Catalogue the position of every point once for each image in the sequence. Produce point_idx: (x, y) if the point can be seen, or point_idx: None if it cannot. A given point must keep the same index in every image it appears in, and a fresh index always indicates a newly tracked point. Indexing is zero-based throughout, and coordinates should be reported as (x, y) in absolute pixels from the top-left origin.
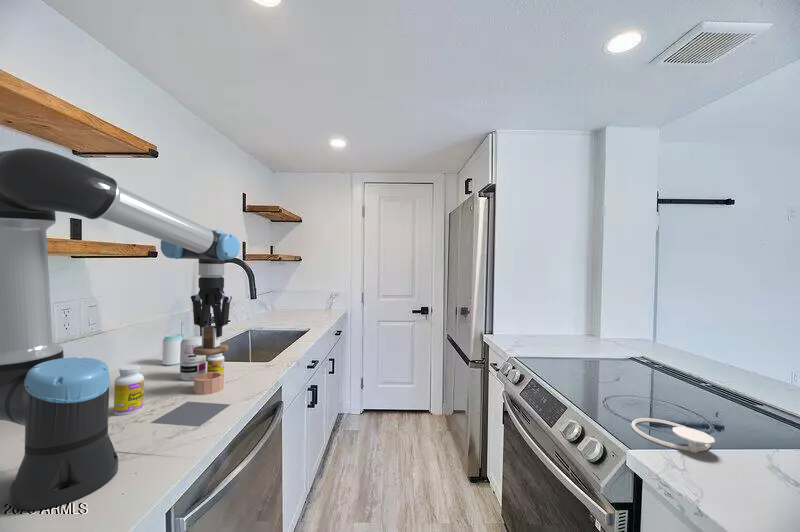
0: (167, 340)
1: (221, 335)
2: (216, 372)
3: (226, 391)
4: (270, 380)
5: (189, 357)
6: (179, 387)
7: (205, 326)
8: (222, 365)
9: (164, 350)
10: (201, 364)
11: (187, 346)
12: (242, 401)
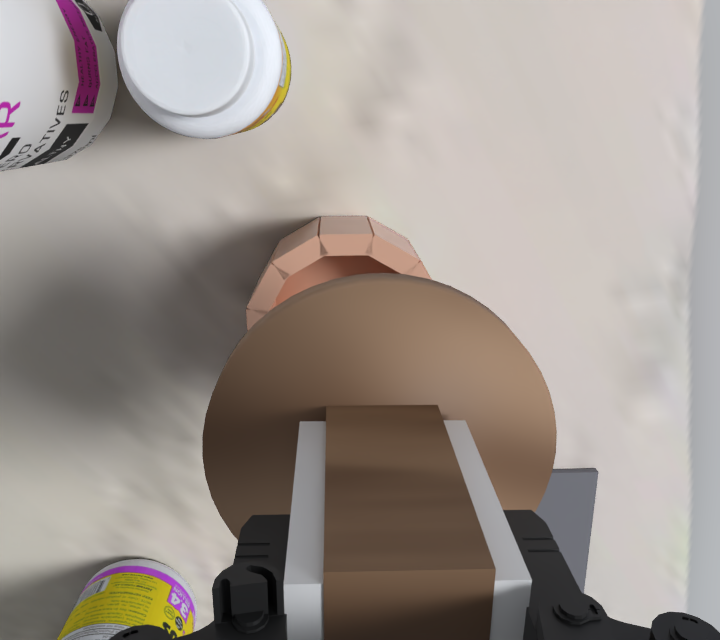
0: None
1: (538, 525)
2: (347, 245)
3: (461, 290)
4: (676, 24)
5: None
6: (108, 278)
7: (286, 627)
8: (285, 67)
9: None
10: (79, 87)
11: None
12: (631, 409)
